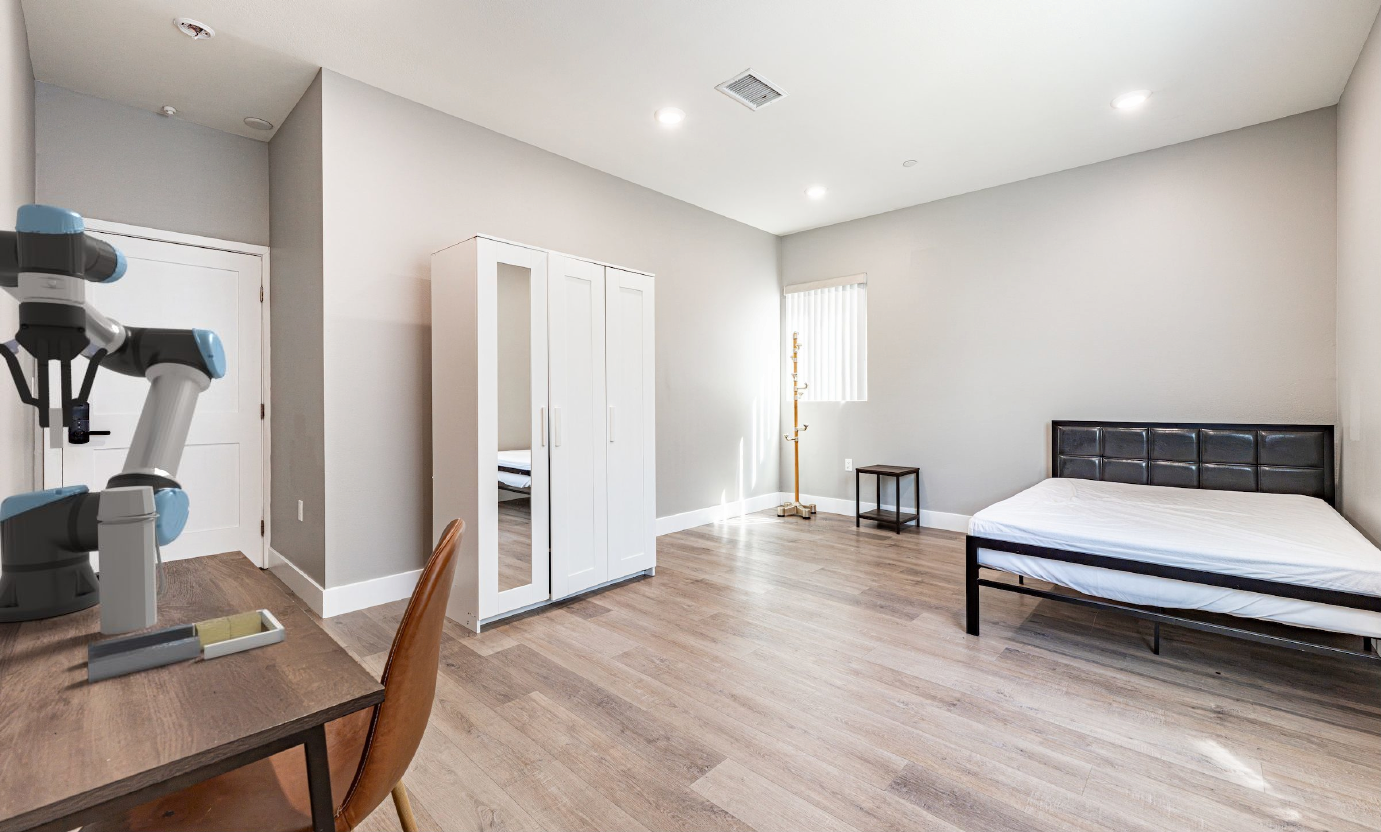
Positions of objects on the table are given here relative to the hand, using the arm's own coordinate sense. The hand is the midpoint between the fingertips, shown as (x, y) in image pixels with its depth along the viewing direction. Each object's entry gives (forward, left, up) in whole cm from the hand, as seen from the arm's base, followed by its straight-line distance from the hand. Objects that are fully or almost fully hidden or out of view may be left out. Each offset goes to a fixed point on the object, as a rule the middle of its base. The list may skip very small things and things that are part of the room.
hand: (56, 447), depth 99 cm
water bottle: (+2, +9, -33) cm, 34 cm away
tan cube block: (+22, +17, -32) cm, 42 cm away
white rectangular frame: (+22, +20, -32) cm, 44 cm away
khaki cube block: (+22, +21, -32) cm, 44 cm away
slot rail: (+22, +9, -32) cm, 40 cm away
